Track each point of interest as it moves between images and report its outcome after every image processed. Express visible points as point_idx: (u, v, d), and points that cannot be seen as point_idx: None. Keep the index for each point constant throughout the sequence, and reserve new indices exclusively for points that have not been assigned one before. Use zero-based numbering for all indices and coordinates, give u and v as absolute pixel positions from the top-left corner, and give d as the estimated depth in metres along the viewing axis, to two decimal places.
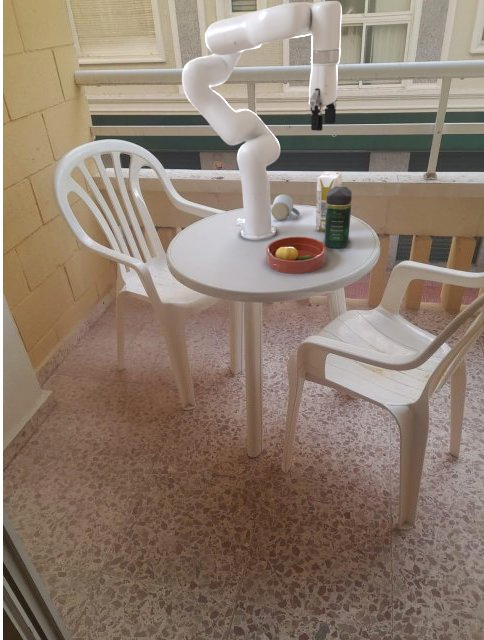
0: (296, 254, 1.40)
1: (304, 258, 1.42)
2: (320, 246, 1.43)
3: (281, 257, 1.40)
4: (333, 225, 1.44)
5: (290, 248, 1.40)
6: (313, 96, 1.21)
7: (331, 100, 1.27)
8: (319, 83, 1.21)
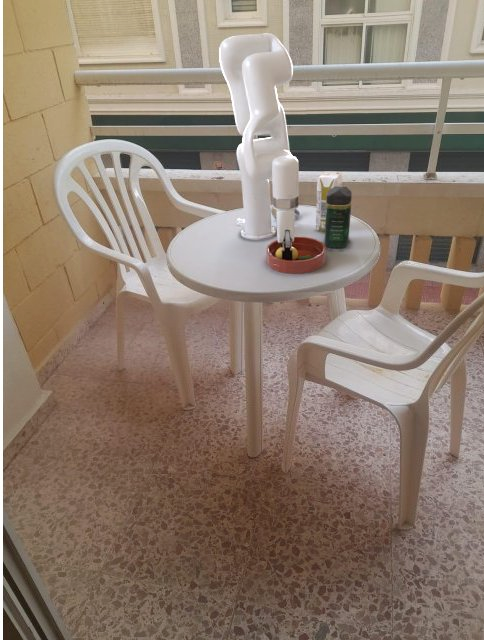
0: (296, 254, 1.40)
1: (304, 258, 1.42)
2: (320, 246, 1.43)
3: (281, 257, 1.40)
4: (333, 225, 1.44)
5: None
6: (287, 242, 1.33)
7: None
8: (288, 225, 1.31)
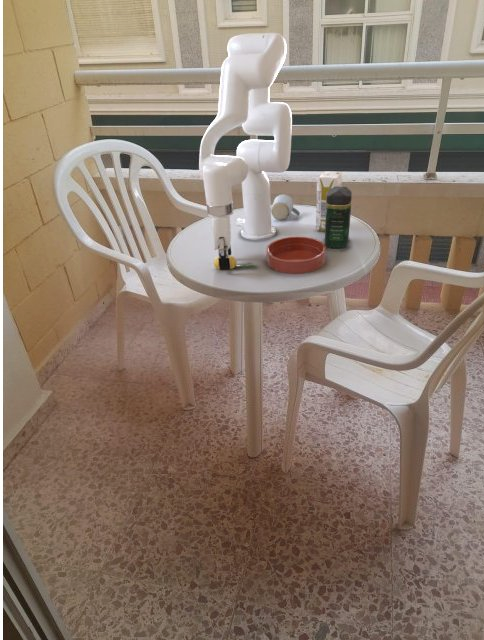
0: (234, 262, 1.39)
1: (243, 266, 1.41)
2: (320, 246, 1.43)
3: None
4: (333, 225, 1.44)
5: (228, 256, 1.39)
6: (221, 245, 1.30)
7: (230, 240, 1.37)
8: (222, 232, 1.30)
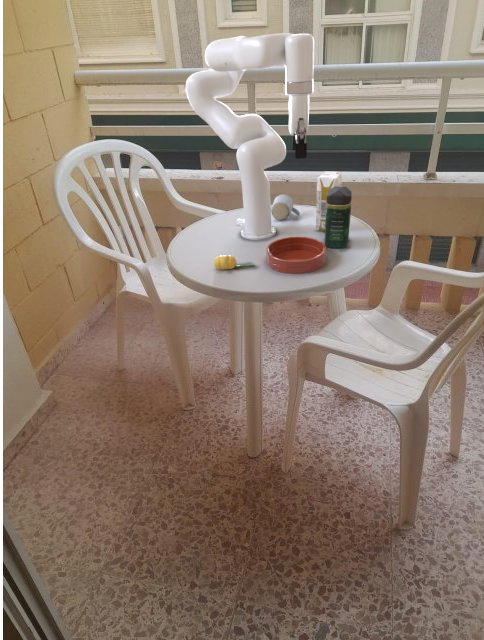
0: (234, 262, 1.39)
1: (243, 266, 1.41)
2: (320, 246, 1.43)
3: (219, 265, 1.39)
4: (333, 225, 1.44)
5: (228, 256, 1.39)
6: (301, 126, 1.22)
7: None
8: (302, 113, 1.22)
